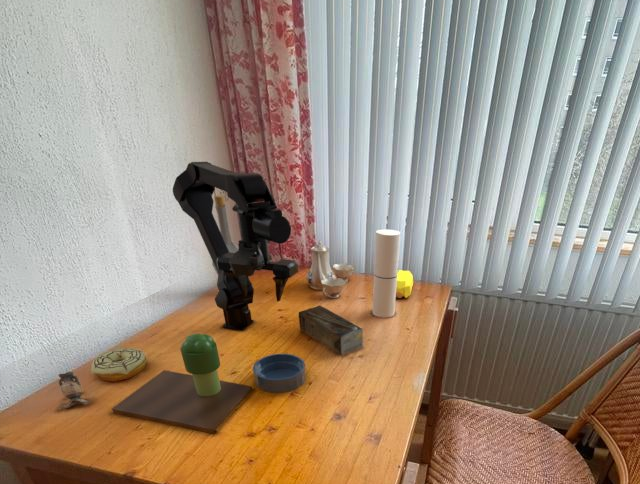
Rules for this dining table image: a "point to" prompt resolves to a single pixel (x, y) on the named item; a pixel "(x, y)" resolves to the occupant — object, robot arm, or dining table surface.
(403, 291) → the orange-capped yellow polyhedron
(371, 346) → the dining table surface
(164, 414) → the board
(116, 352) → the decorated donut
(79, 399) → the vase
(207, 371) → the broccoli
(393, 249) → the cylindrical container
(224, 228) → the bottle
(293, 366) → the bowl
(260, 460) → the dining table surface
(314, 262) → the chinaware
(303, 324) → the beverage carton
